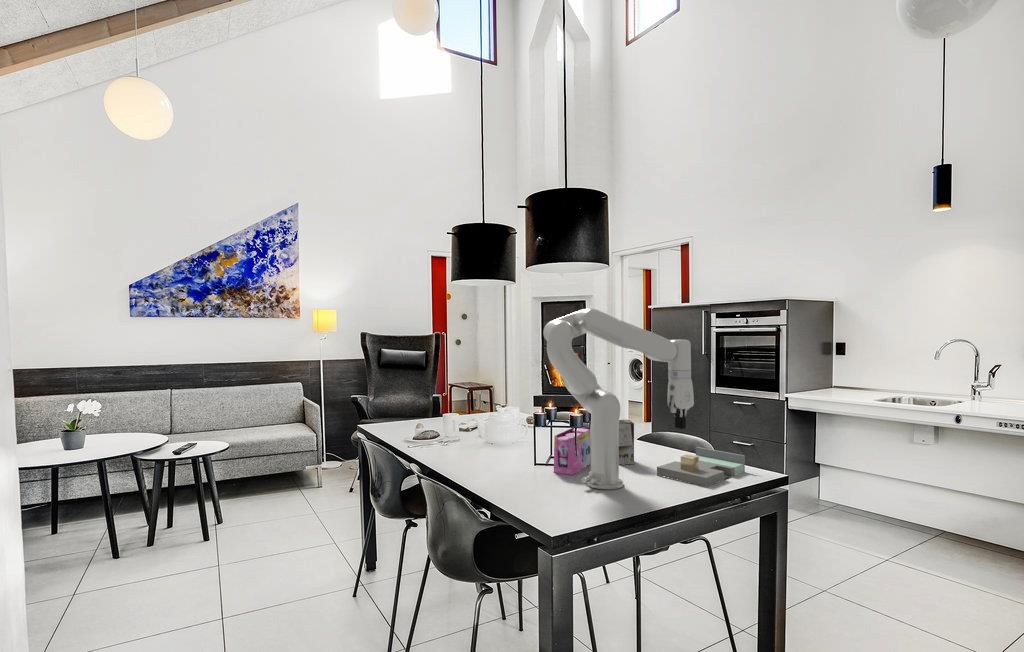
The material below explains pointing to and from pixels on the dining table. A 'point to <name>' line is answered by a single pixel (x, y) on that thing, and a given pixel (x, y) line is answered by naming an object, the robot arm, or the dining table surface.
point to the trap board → (706, 467)
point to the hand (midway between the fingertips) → (680, 428)
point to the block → (689, 462)
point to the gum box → (571, 451)
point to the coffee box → (626, 442)
